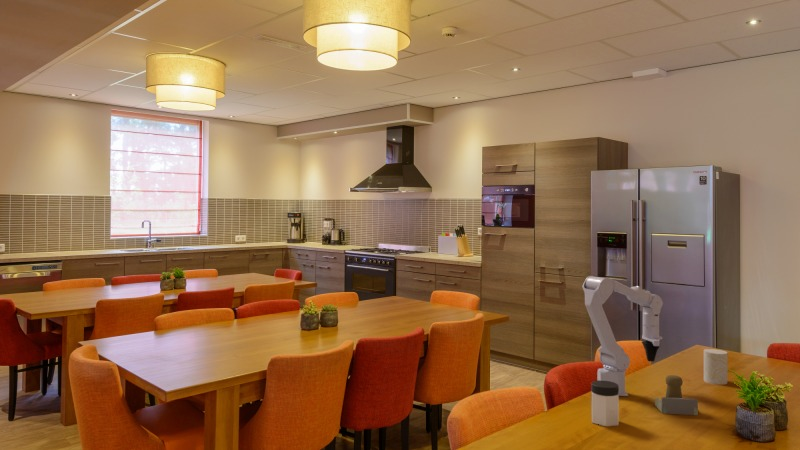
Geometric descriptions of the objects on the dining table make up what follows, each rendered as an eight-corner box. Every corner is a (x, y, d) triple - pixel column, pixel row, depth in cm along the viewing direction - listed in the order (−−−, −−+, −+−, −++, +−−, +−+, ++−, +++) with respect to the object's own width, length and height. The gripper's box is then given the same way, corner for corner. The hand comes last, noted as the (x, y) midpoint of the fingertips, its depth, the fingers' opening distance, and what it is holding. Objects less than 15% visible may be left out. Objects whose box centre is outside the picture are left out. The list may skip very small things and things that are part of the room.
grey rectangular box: (662, 413, 181) (662, 398, 181) (654, 405, 189) (654, 390, 189) (697, 415, 179) (697, 399, 179) (688, 406, 187) (688, 392, 187)
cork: (686, 411, 182) (686, 379, 182) (666, 410, 184) (666, 377, 183) (681, 406, 188) (681, 374, 188) (662, 404, 189) (662, 372, 189)
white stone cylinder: (705, 383, 214) (705, 352, 214) (702, 377, 222) (702, 348, 222) (729, 385, 211) (729, 354, 211) (725, 379, 219) (725, 350, 219)
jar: (599, 427, 168) (599, 388, 168) (585, 418, 176) (585, 381, 176) (625, 425, 170) (625, 386, 170) (609, 416, 178) (609, 379, 178)
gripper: (668, 329, 200) (668, 366, 200) (655, 322, 214) (655, 356, 215) (648, 328, 201) (648, 365, 201) (637, 321, 216) (637, 356, 216)
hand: (650, 360), depth 208 cm, fingers closed
